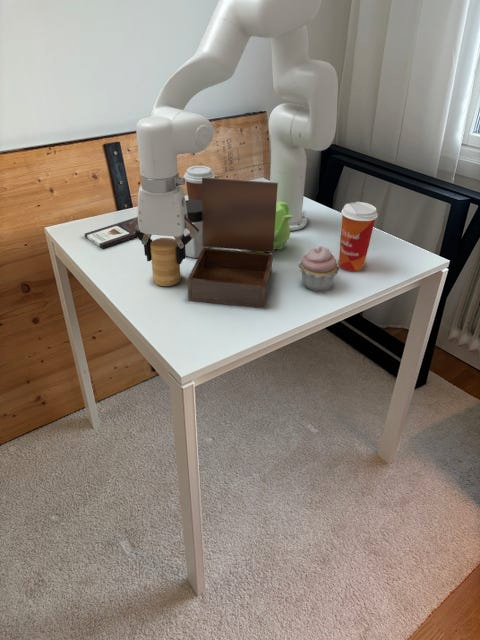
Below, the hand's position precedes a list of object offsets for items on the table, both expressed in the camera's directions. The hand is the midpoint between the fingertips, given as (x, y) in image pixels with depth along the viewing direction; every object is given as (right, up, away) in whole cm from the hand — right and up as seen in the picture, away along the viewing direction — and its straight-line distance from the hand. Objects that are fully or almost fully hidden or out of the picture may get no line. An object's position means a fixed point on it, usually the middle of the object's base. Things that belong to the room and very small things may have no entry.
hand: (165, 259), depth 114 cm
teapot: (+23, +5, +18) cm, 29 cm away
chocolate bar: (-15, +10, +23) cm, 29 cm away
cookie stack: (0, -4, +3) cm, 5 cm away
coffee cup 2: (+44, -1, +10) cm, 45 cm away
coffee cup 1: (+5, +19, +37) cm, 42 cm away
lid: (+16, +10, 0) cm, 19 cm away
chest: (+15, -6, +1) cm, 16 cm away
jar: (+5, +4, +16) cm, 17 cm away
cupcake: (+34, -6, +2) cm, 35 cm away
